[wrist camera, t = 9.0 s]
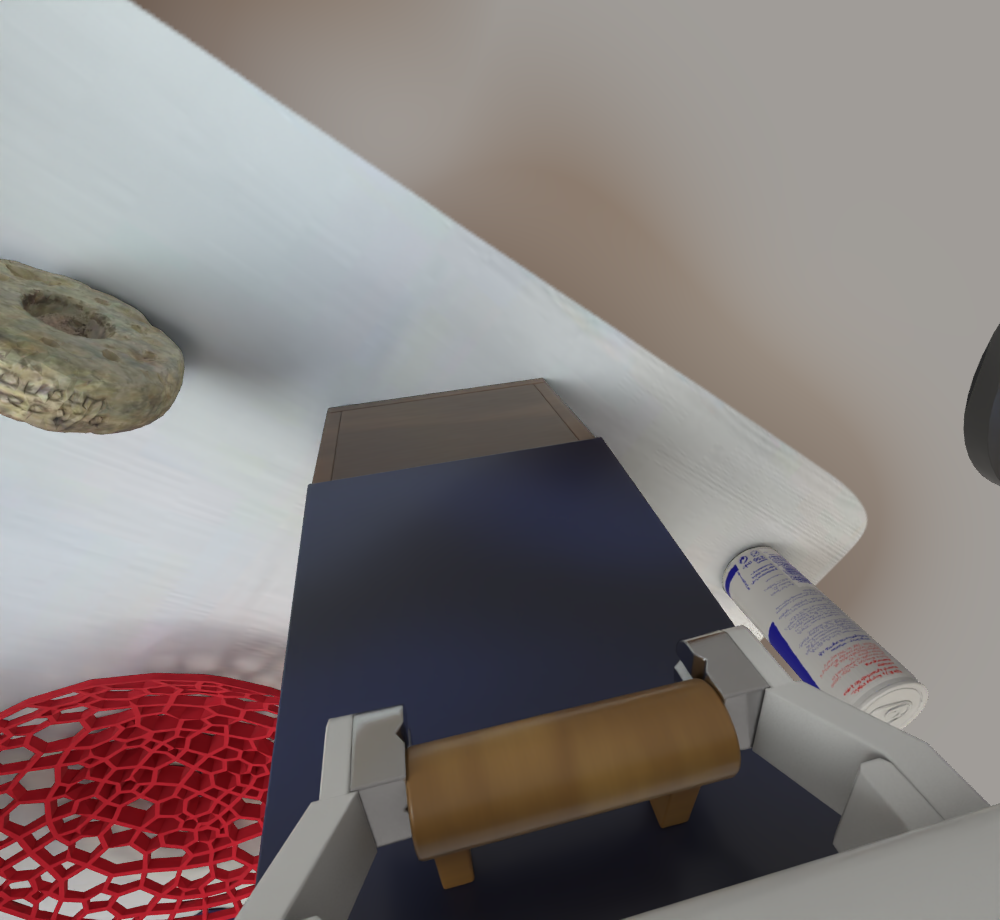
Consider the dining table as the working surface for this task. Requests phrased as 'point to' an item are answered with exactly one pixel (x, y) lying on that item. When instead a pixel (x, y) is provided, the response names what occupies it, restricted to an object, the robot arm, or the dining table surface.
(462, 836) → the lid
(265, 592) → the dining table surface
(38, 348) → the stone ring
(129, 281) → the dining table surface
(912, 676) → the beverage can
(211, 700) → the bowl
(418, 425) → the chest
